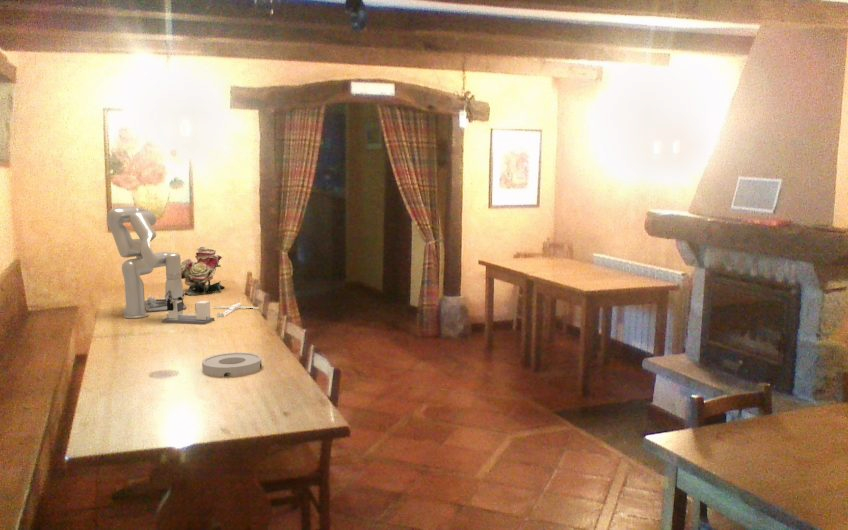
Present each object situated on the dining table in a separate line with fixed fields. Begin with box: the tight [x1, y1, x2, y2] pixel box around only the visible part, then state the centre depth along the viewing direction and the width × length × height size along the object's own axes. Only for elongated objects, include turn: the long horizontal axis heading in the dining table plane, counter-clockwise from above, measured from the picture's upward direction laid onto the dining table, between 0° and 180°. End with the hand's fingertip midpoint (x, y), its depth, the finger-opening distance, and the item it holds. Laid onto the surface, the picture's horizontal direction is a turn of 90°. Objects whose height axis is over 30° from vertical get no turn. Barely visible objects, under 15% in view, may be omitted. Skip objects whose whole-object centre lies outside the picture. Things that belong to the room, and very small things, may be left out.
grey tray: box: [145, 296, 187, 313], centre depth 422 cm, size 30×22×7 cm
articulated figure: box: [212, 302, 260, 318], centre depth 406 cm, size 27×4×30 cm
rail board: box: [161, 300, 215, 325], centre depth 380 cm, size 25×10×11 cm, turn 77°
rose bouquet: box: [181, 246, 225, 297], centre depth 467 cm, size 26×29×30 cm
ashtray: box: [201, 352, 263, 378], centre depth 291 cm, size 23×23×4 cm
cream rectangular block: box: [167, 300, 184, 319], centre depth 382 cm, size 6×6×9 cm
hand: (175, 308), depth 382 cm, fingers open, 9 cm apart
